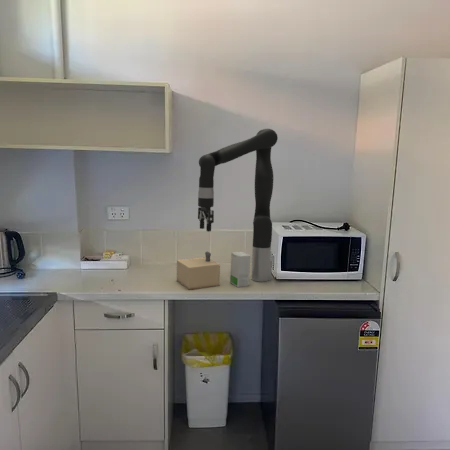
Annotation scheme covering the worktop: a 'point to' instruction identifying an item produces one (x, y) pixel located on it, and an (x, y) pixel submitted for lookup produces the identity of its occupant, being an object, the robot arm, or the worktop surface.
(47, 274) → the worktop surface
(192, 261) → the lid flap
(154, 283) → the worktop surface
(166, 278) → the worktop surface
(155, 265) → the worktop surface
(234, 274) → the skincare box
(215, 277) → the carton
